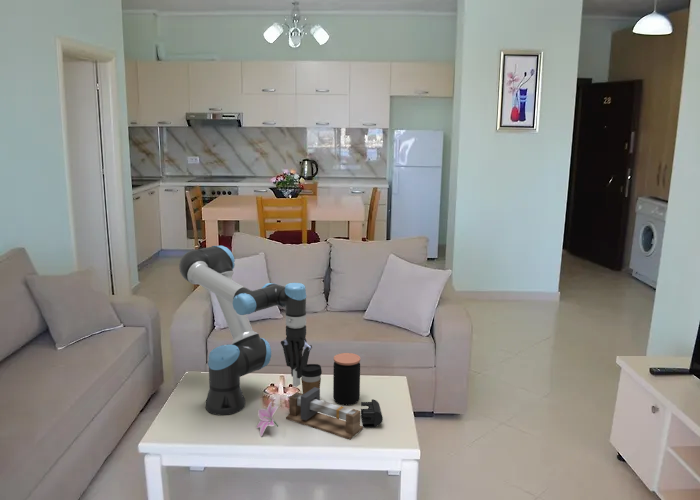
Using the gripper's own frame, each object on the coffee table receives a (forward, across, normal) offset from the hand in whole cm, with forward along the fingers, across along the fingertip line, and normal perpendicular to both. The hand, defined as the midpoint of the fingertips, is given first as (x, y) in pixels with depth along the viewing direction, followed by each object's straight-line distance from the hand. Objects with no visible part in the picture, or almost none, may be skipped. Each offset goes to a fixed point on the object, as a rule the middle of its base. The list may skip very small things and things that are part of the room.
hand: (296, 385), depth 226 cm
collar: (+10, +6, 0) cm, 12 cm away
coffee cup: (+13, -2, +12) cm, 18 cm away
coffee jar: (+13, +9, +21) cm, 26 cm away
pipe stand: (+13, +12, 0) cm, 17 cm away
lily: (+13, -3, -14) cm, 19 cm away
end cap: (+13, +26, +11) cm, 31 cm away
